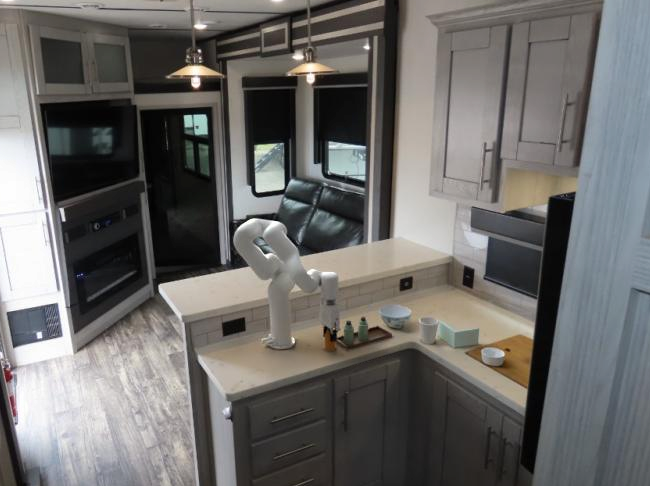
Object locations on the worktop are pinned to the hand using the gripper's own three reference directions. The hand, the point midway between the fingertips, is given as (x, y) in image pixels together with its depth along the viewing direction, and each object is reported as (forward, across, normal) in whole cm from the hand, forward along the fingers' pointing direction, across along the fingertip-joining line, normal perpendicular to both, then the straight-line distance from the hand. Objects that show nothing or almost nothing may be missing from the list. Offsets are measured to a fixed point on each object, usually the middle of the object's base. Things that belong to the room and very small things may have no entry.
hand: (330, 338), depth 225 cm
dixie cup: (+5, +16, +42) cm, 45 cm away
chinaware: (+5, -4, +40) cm, 41 cm away
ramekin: (+5, +43, +51) cm, 67 cm away
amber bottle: (+5, 0, 0) cm, 5 cm away
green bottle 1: (+5, 0, +10) cm, 11 cm away
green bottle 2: (+5, 0, +18) cm, 19 cm away
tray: (+5, 0, +18) cm, 19 cm away
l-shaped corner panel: (+5, +22, +54) cm, 59 cm away
